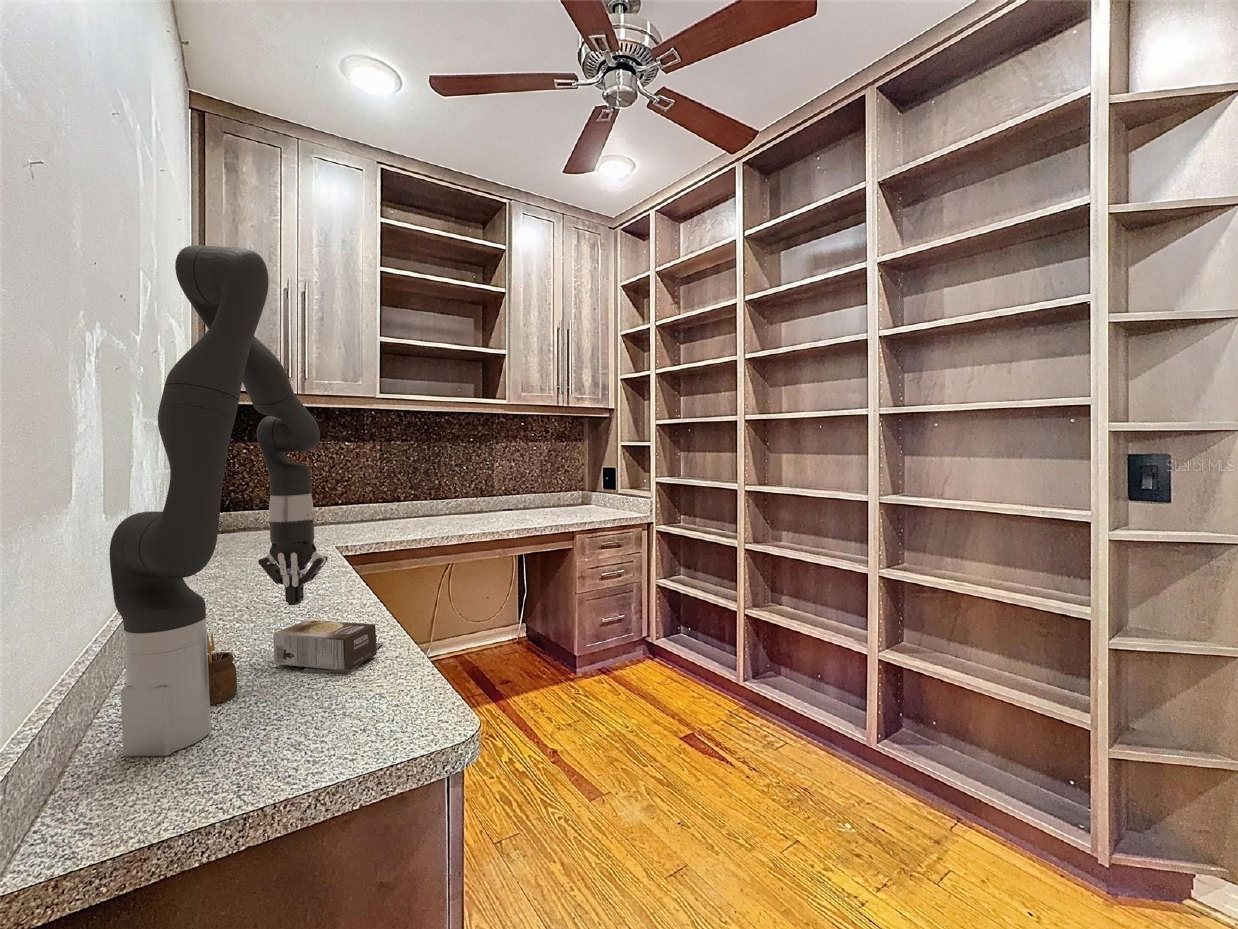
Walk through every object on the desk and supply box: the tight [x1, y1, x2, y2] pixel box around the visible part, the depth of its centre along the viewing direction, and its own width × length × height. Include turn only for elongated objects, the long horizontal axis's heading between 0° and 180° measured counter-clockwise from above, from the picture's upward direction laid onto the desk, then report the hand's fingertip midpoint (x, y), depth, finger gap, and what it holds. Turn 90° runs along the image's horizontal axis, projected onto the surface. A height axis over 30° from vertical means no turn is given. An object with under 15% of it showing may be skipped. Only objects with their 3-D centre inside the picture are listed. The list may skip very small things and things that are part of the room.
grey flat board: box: [302, 642, 384, 674], centre depth 111 cm, size 14×9×1 cm, turn 0°
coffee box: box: [272, 619, 378, 671], centre depth 109 cm, size 9×6×16 cm
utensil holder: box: [207, 629, 238, 706], centre depth 94 cm, size 6×6×12 cm
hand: (295, 604), depth 111 cm, fingers closed
